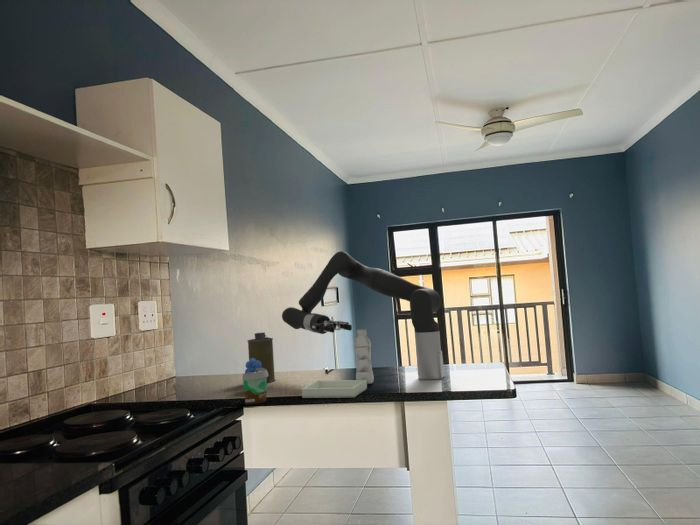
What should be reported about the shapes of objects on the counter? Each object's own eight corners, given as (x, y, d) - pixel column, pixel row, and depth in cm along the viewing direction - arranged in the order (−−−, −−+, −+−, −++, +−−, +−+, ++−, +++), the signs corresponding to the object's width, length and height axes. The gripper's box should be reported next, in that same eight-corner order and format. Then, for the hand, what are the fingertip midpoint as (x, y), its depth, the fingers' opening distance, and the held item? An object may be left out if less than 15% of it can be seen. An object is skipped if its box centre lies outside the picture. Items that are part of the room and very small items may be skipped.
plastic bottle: (377, 383, 189) (373, 328, 190) (368, 386, 183) (364, 330, 184) (362, 382, 192) (358, 328, 194) (352, 386, 186) (349, 330, 188)
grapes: (237, 391, 192) (235, 359, 193) (252, 388, 197) (250, 356, 198) (256, 393, 184) (254, 360, 185) (271, 390, 189) (269, 357, 190)
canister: (267, 383, 205) (265, 333, 206) (244, 384, 208) (242, 334, 209) (280, 379, 215) (277, 331, 216) (258, 379, 218) (255, 332, 220)
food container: (261, 405, 163) (260, 373, 164) (243, 405, 164) (242, 374, 165) (275, 397, 175) (273, 367, 176) (258, 397, 176) (256, 368, 177)
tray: (367, 388, 179) (366, 379, 179) (353, 397, 165) (353, 388, 165) (319, 389, 185) (318, 380, 185) (302, 397, 170) (301, 388, 171)
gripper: (302, 315, 203) (328, 320, 191) (330, 312, 212) (356, 317, 200) (302, 334, 203) (327, 340, 191) (330, 330, 212) (356, 336, 200)
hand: (342, 328), depth 195 cm, fingers open, 8 cm apart
